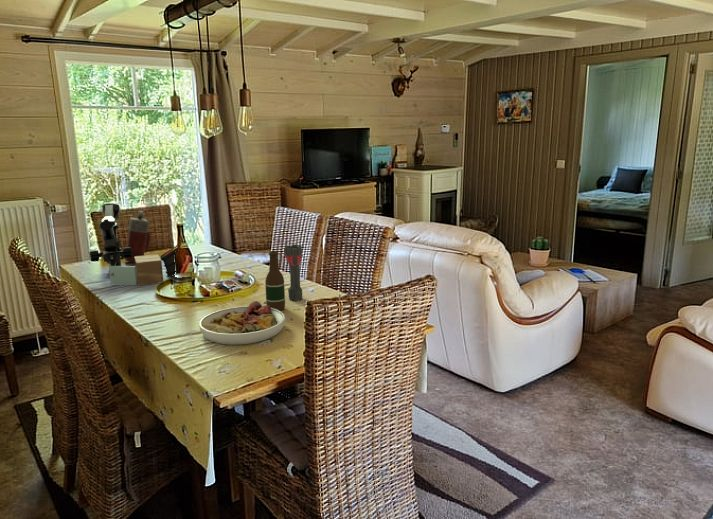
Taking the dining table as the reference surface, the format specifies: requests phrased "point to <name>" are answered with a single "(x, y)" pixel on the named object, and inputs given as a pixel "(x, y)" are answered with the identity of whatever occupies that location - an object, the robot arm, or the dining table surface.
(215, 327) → the bowl
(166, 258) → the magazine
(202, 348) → the dining table surface
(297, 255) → the flashlight
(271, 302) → the beer bottle
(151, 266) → the walnut box
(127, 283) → the door
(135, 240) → the red grey bottle
